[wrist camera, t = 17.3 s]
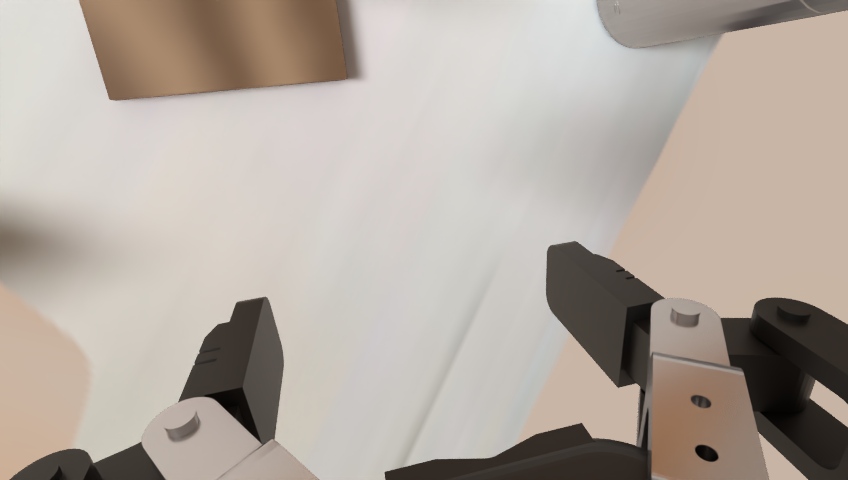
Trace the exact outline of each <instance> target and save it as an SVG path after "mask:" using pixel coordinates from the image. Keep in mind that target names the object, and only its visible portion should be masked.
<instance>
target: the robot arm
mask: <svg viewBox="0 0 848 480" xmlns="http://www.w3.org/2000/svg"><path fill="white" fill-rule="evenodd" d="M597 6H598V10H599V14H600V17H601V20H602V22H603V24H604V27H605V28H606V30H607V31H608V33H609V34H610V36H612V37H613V38H614V39H615V40H616V41H617V42H618V43H620V44H622V45H624V46H626V47H631V48H641V47H648V46H653V45H659V44H664V43H670V42H675V41H682V40H688V39H693V38H699V37H704V36H710V35H715V34H721V33H726V32H732V31H737V30H743V29H748V28H753V27H759V26H765V25H770V24H776V23H781V22H786V21H792V20H798V19H803V18H809V17H814V16H819V15H825V14H829V13H835V12H840V11H846V10H848V0H597ZM546 296H547V301H548V305H549V307H550V309H551V311H552V312H553V314H554V315H555V316H556V317H557V318H558V319H559V321H560V322H561V323H562V324H563V325H564V326H565V327H566V329H567V330H568V331H569V332H570V333H571V334H572V335H573V337H574V338H575V339H576V340H577V341H578V342H579V343H580V345H581V346H582V347H583V348H584V349H585V350H586V352H587V353H588V354H589V355H590V356H591V357H592V358H593V360H594V361H595V362H596V363H597V364H598V365H599V366H600V368H601V369H602V370H603V371H604V372H605V373H606V374H607V376H608V377H609V378H610V379H611V380H612V381H613V382H614V384H615V385H616V386H617V387H618V388H619V387H623V386H627V385H631V384H635V383H637V384H638V385H639V386H640V392H639V403H638V421H637V441H636V442H637V443H636V446H635V445H632V444H628V443H624V442H620V441H615V440H609V439H599V438H596V439H595V438H592V437H591V436H590V434H589V433H588V431H587V430H586V429H585V427H584V426H583V424H582V423H580V424H576V425H572V426H568V427H564V428H560V429H556V430H552V431H548V432H544V433H540V434H536V435H534V436H532V437H530V438H529V439H526V440H525V441H523V442H521V443H519V444H517V445H515V446H513V447H512V448H510V449H508V450H506V451H504V452H502V453H500V454H499V455H497V456H495V457H492V458H485V459H435V460H431V461H427V462H423V463H419V464H415V465H411V466H407V467H403V468H399V469H395V470H391V471H387V472H385V479H386V480H769V476H768V472H767V468H766V464H765V459H764V455H763V451H762V447H761V443H760V439H759V434H758V432H759V433H760V434H761V435H762V436H763V437H764V438H765V439H766V440H767V441H768V442H769V443H770V444H772V445H773V446H774V447H775V448H776V449H777V450H778V451H779V452H780V453H781V454H782V455H783V456H784V457H785V458H786V459H787V460H788V461H790V463H792V464H793V465H794V466H795V467H796V468H797V469H798V470H799V471H800V472H801V473H802V474H803V475H804V476H805V477H806V478H807V479H808V480H848V427H846V426H845V425H844V424H842V423H841V422H840V421H839V420H837V419H836V418H835V417H833V416H832V415H831V414H829V413H828V412H827V411H825V410H824V409H823V408H821V407H820V406H819V405H818V404H816V403H815V402H814V401H812V400H811V399H810V398H809V397H810V395H811V392H812V389H813V386H814V383H815V380H817V381H818V382H820V383H821V384H823V385H824V386H825V387H827V388H828V389H830V390H831V391H832V392H834V393H835V394H837V395H838V396H839V397H841V398H842V399H843V400H844V401H845V402H846V403H847V404H848V324H846V323H844V322H842V321H841V320H839V319H837V318H835V317H833V316H832V315H830V314H828V313H826V312H824V311H823V310H821V309H819V308H817V307H815V306H813V305H810V304H807V303H804V302H801V301H797V300H792V299H786V298H766V299H762V300H760V301H758V302H757V303H756V304H755V306H754V310H753V313H752V318H720V317H719V315H718V314H717V313H716V312H715V311H714V310H713V309H711V308H710V307H708V306H706V305H704V304H702V303H699V302H696V301H693V300H688V299H682V298H667V299H665V298H664V297H662V296H661V295H660V294H658V293H657V292H655V291H654V290H653V289H651V288H650V287H649V286H647V285H646V284H645V283H643V282H642V281H640V280H639V279H638V278H635V277H634V275H632V274H631V273H629V272H628V271H625V269H624V268H623V267H621V266H620V265H618V264H617V263H615V262H614V261H613V260H610V259H608V258H605V257H602V256H600V255H597V254H592V253H591V252H590V251H589V250H587V249H586V248H585V247H583V246H582V245H581V244H579V243H578V242H576V241H573V242H568V243H562V244H557V245H551V246H550V247H549V248H548V251H547V275H546ZM199 352H200V354H198V356H197V358H196V360H195V365H194V366H193V368H192V370H191V372H190V375H189V377H188V380H187V382H186V385H185V387H184V389H183V392H182V394H181V397H180V399H179V401H178V403H176V404H174V405H172V406H170V407H168V408H167V409H165V410H164V411H162V412H161V413H160V414H158V415H157V416H156V417H155V418H154V419H153V420H152V421H151V422H150V423H149V424H148V426H147V427H146V429H145V430H144V433H143V435H142V442H140V443H138V444H136V445H134V446H132V447H130V448H128V449H125V450H123V451H121V452H118V453H116V454H114V455H112V456H109V457H107V458H105V459H102V460H100V461H98V462H96V463H93V461H92V459H91V458H90V456H89V454H88V453H87V452H86V451H84V450H81V449H67V450H62V451H59V452H55V453H52V454H50V455H48V456H45V457H43V458H41V459H39V460H37V461H35V462H33V463H32V464H30V465H28V466H27V467H25V468H24V469H23V470H21V471H20V472H18V473H17V474H16V475H14V476H13V477H12V478H11V479H10V480H319V479H318V478H317V477H316V476H315V475H314V474H312V473H311V472H310V471H309V470H308V469H307V468H306V467H305V466H304V465H302V464H301V463H300V462H299V461H298V460H297V459H296V458H295V457H294V456H293V455H291V454H290V453H289V452H288V451H287V450H286V449H285V448H284V447H283V446H281V445H280V444H279V443H278V442H277V441H275V440H274V438H275V430H276V423H277V415H278V407H279V399H280V391H281V384H282V376H283V368H284V359H283V350H282V345H281V341H280V338H279V334H278V331H277V327H276V324H275V320H274V316H273V313H272V309H271V306H270V303H269V300H268V298H267V297H262V298H256V299H251V300H245V301H240V302H237V303H236V305H235V308H234V311H233V314H232V316H231V319H230V322H227V323H222V324H218V325H217V326H216V327H215V328H214V329H213V330H212V331H211V332H210V333H209V334H208V335H207V336H206V337H205V339H204V341H203V344H202V346H201V348H200V351H199Z"/></svg>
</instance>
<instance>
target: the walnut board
mask: <svg viewBox="0 0 848 480" xmlns="http://www.w3.org/2000/svg"><path fill="white" fill-rule="evenodd" d="M79 1H80V5H81V8H82V11H83V14H84V18H85V21H86V24H87V28H88V31H89V34H90V37H91V41H92V44H93V47H94V50H95V54H96V57H97V60H98V63H99V67H100V70H101V73H102V76H103V80H104V83H105V86H106V90H107V93H108V96H109V99H110V100H126V99H137V98H148V97H159V96H170V95H181V94H192V93H203V92H214V91H225V90H236V89H248V88H259V87H270V86H281V85H292V84H303V83H314V82H325V81H336V80H345V79H347V72H346V66H345V59H344V52H343V45H342V39H341V32H340V25H339V18H338V12H337V5H336V0H79Z"/></svg>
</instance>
